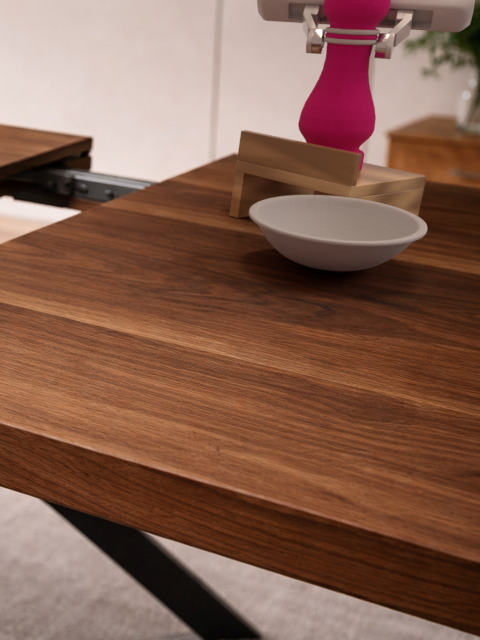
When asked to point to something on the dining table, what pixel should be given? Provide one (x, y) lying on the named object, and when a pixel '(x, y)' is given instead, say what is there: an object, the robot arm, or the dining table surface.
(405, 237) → the dish
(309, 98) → the pepper mill
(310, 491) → the dining table surface
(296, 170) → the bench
